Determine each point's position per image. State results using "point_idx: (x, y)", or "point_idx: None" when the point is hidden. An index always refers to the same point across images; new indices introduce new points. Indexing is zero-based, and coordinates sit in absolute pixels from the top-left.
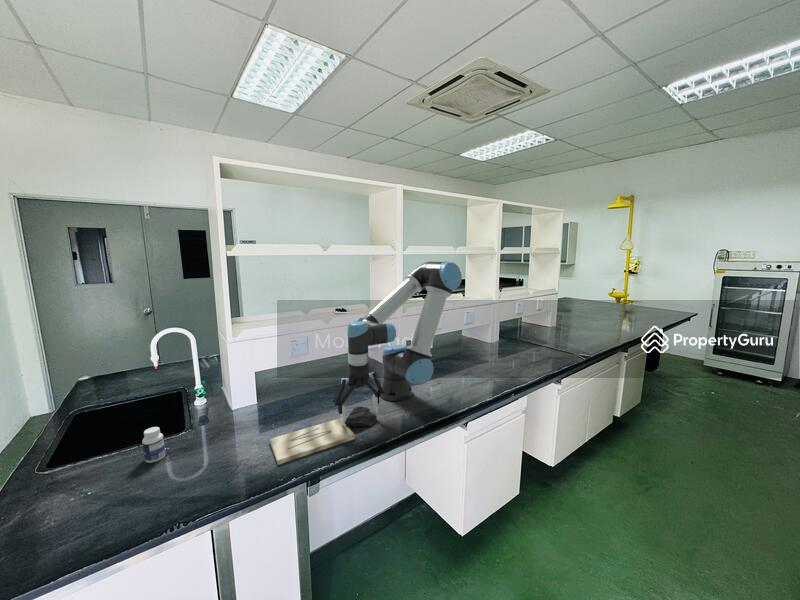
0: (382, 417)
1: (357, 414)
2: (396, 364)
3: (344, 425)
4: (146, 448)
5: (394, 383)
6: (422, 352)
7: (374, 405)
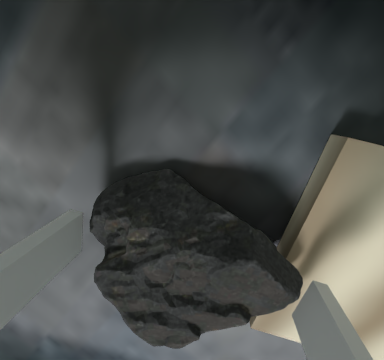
0: (67, 191)
1: (205, 281)
2: None
3: None
4: None
5: None
6: None
7: (39, 265)
